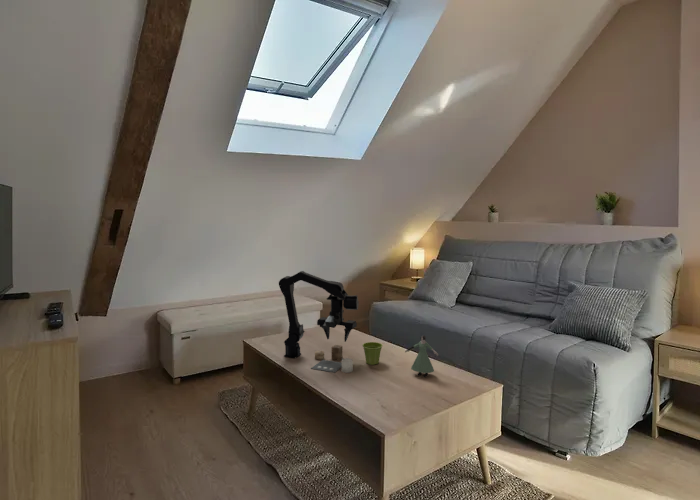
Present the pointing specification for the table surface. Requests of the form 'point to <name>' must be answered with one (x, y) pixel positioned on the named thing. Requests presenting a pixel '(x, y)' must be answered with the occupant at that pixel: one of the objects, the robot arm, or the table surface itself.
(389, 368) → the table surface
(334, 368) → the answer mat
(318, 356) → the beige round knob
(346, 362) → the white rounded block
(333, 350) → the walnut block
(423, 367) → the character figurine
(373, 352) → the plant pot
